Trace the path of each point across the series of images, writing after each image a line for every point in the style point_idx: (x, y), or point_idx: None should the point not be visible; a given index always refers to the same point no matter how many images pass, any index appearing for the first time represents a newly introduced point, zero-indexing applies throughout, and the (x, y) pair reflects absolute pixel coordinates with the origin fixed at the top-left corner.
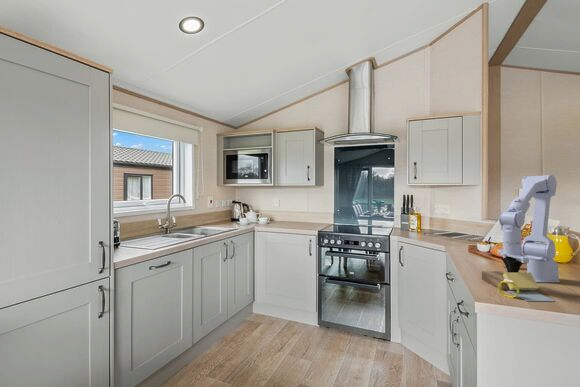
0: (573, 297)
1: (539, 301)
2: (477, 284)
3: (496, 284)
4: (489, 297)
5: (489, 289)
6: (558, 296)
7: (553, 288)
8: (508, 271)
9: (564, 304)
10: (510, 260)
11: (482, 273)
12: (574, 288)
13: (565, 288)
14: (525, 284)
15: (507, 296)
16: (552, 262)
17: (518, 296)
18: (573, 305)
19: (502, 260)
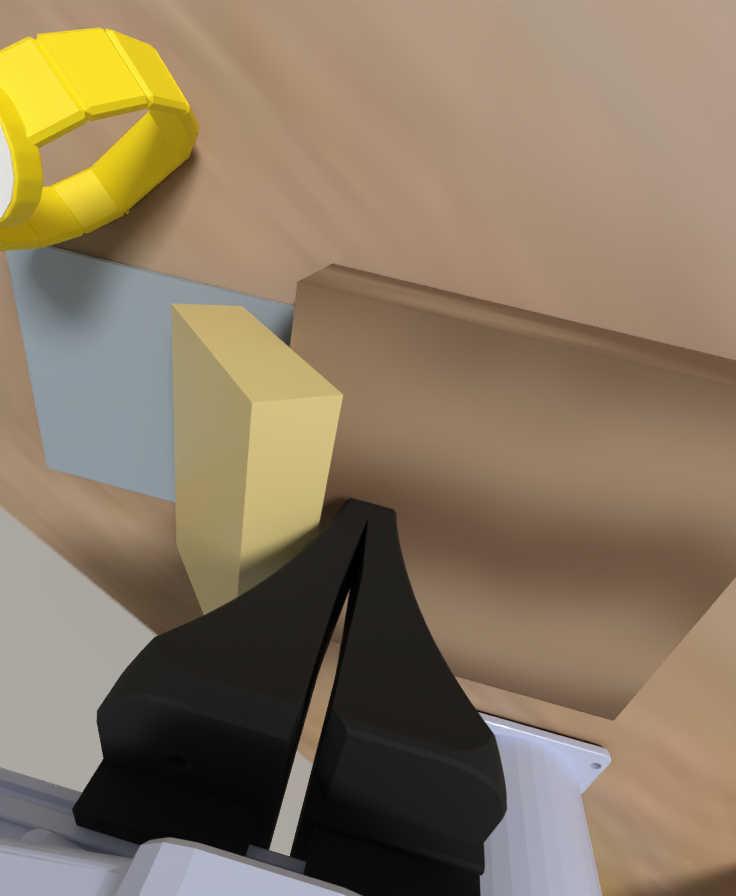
0: (153, 629)
1: (30, 353)
2: (643, 103)
3: (432, 296)
4: None
5: (395, 117)
6: (166, 576)
7: (319, 682)
8: (369, 542)
9: (12, 474)
10: (105, 701)
11: None
12: (303, 756)
13: (309, 727)
14: (184, 473)
15: (123, 136)
16: None
17: (121, 266)
18: (6, 507)
19: (466, 708)
